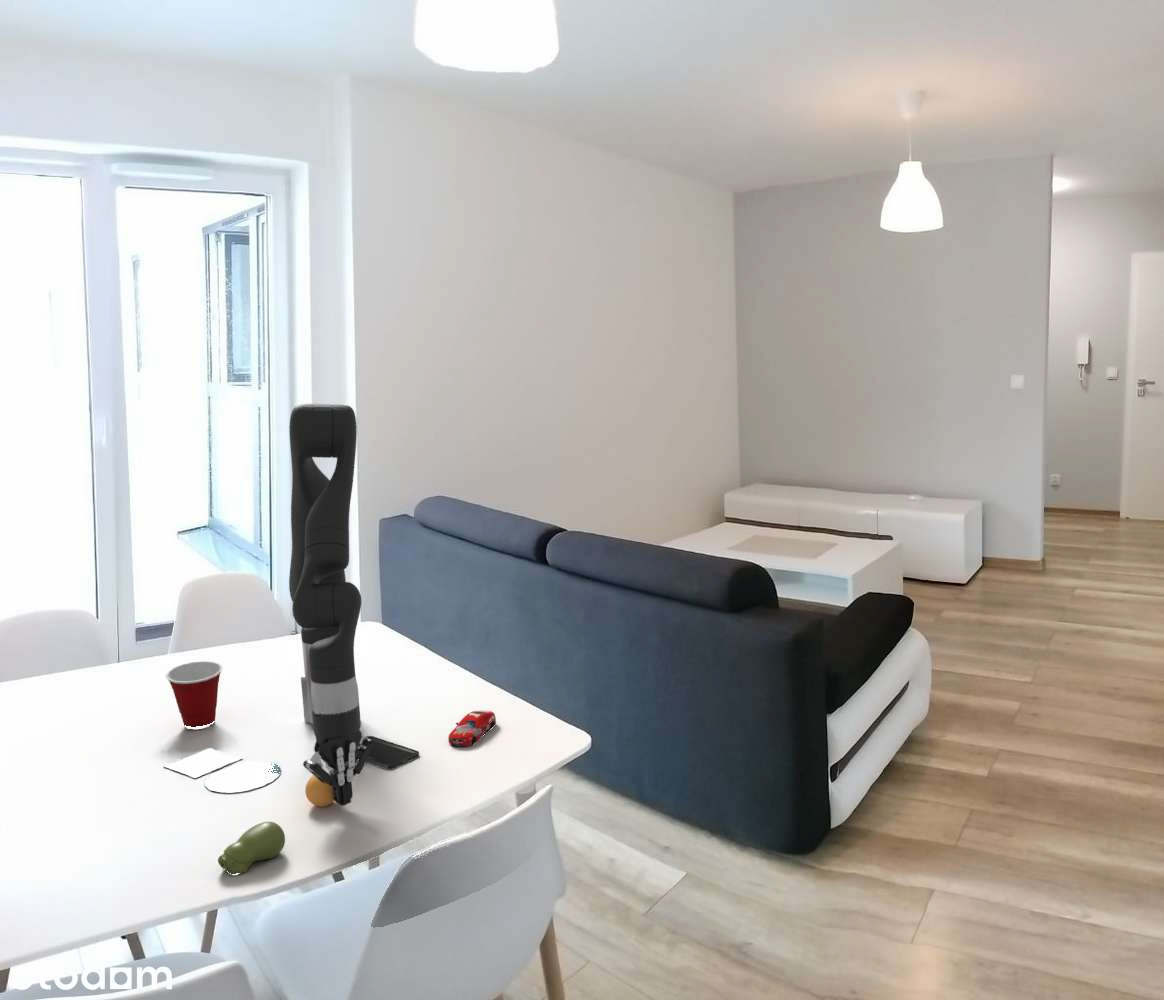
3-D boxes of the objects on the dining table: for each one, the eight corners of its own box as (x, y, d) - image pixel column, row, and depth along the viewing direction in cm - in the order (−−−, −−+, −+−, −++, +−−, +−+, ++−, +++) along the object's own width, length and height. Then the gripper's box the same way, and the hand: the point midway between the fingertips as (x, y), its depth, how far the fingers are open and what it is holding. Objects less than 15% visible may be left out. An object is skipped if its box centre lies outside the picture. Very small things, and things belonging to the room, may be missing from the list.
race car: (469, 751, 187) (467, 731, 186) (443, 747, 189) (442, 727, 188) (501, 725, 199) (500, 706, 198) (477, 722, 201) (476, 703, 200)
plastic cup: (172, 739, 197) (165, 681, 195) (170, 721, 207) (164, 666, 205) (230, 729, 202) (224, 672, 200) (225, 712, 211) (220, 657, 209)
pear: (287, 822, 149) (226, 858, 142) (295, 852, 150) (235, 889, 144) (268, 810, 153) (208, 845, 146) (276, 840, 154) (217, 876, 148)
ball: (317, 799, 161) (304, 814, 164) (348, 794, 165) (335, 809, 168) (309, 768, 164) (296, 784, 167) (339, 764, 168) (326, 779, 171)
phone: (368, 735, 194) (421, 752, 185) (369, 740, 194) (422, 757, 185) (336, 748, 188) (389, 767, 179) (336, 754, 188) (389, 773, 179)
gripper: (353, 686, 169) (361, 782, 171) (286, 711, 159) (295, 812, 161) (382, 695, 164) (389, 794, 167) (315, 721, 154) (324, 825, 157)
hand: (343, 803), depth 164 cm, fingers closed
